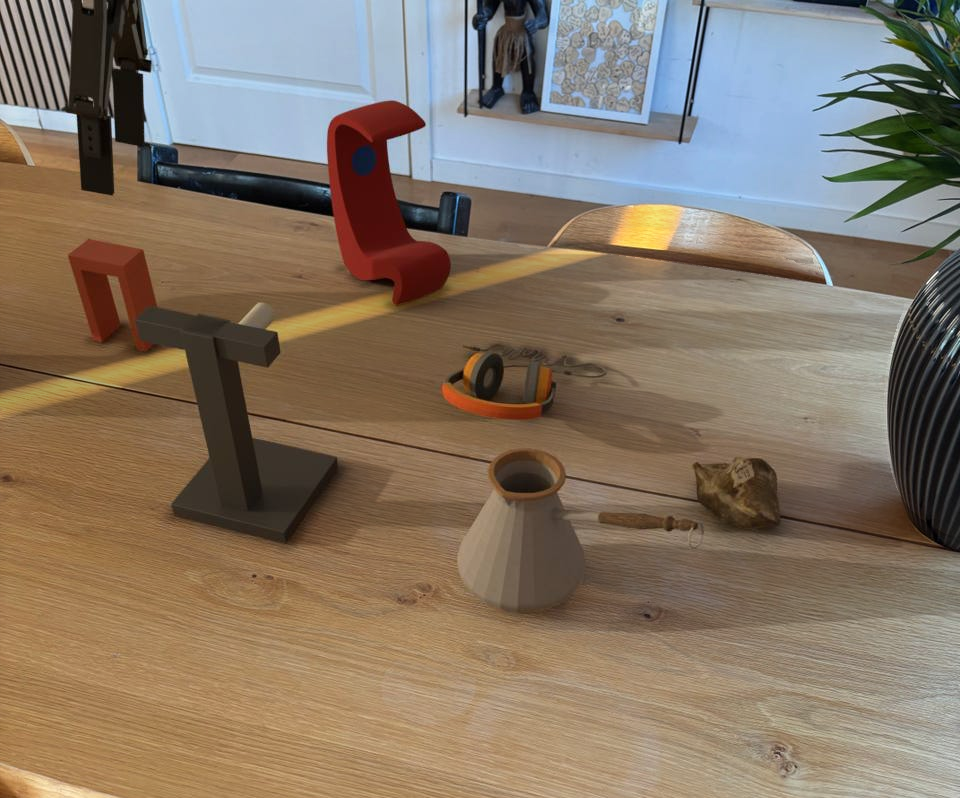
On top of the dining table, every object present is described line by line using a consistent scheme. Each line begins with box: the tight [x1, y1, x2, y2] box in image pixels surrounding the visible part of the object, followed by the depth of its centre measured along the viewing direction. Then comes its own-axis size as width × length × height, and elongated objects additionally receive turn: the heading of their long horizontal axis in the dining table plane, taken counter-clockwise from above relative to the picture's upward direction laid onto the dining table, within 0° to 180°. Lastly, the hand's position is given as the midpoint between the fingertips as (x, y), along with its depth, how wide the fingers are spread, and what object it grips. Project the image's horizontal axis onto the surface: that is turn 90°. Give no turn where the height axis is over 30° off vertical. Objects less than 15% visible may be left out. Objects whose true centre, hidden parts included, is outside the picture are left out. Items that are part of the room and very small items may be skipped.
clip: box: [67, 238, 158, 353], centre depth 115 cm, size 7×4×10 cm, turn 71°
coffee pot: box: [456, 447, 705, 614], centre depth 85 cm, size 21×12×15 cm, turn 55°
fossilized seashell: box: [692, 456, 782, 530], centre depth 98 cm, size 8×7×10 cm
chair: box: [326, 99, 452, 306], centre depth 121 cm, size 15×7×20 cm, turn 39°
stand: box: [135, 302, 339, 545], centre depth 93 cm, size 12×12×20 cm
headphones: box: [441, 343, 607, 421], centre depth 110 cm, size 17×5×20 cm
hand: (114, 166), depth 97 cm, fingers open, 13 cm apart
